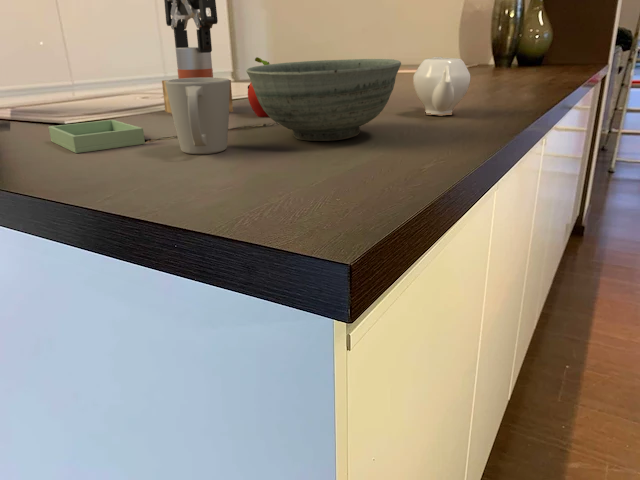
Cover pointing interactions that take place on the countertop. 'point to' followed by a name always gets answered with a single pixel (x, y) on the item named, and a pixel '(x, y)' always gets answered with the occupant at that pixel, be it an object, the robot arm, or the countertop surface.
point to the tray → (96, 135)
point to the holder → (167, 103)
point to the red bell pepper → (253, 98)
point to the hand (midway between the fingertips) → (193, 52)
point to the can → (193, 63)
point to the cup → (200, 113)
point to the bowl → (324, 95)
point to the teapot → (441, 83)
